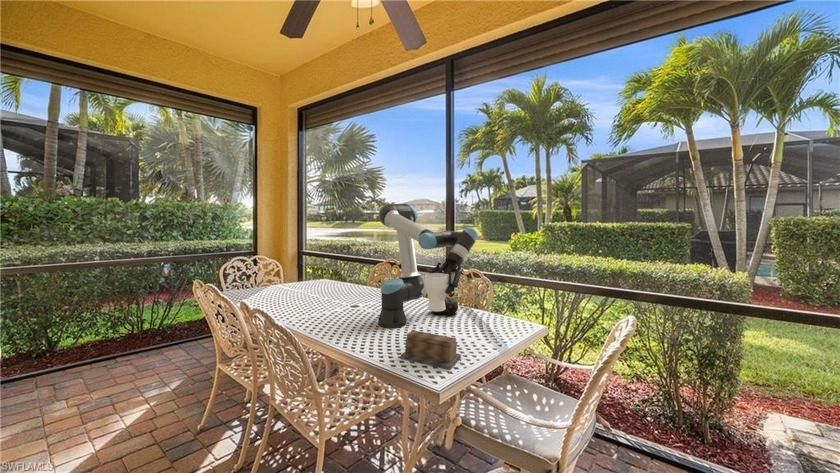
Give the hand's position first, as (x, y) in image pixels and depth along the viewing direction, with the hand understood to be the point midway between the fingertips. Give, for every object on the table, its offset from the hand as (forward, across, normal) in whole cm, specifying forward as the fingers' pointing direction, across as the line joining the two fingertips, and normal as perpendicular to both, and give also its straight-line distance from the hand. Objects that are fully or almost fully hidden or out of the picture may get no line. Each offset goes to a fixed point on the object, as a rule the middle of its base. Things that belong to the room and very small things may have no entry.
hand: (431, 296), depth 150 cm
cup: (+2, 0, -6) cm, 7 cm away
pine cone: (-11, +33, -46) cm, 58 cm away
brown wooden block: (+21, -5, -14) cm, 25 cm away
